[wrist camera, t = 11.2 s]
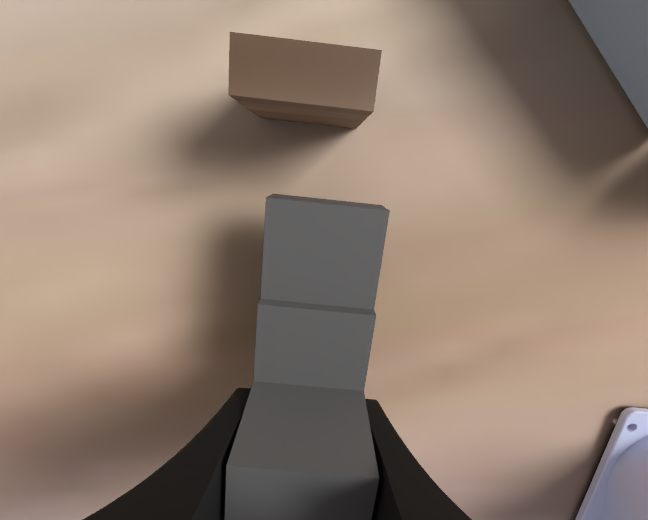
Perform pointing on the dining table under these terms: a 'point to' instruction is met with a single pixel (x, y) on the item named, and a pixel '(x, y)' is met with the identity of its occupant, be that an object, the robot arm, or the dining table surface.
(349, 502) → the notched block
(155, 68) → the dining table surface
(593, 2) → the door leaf
